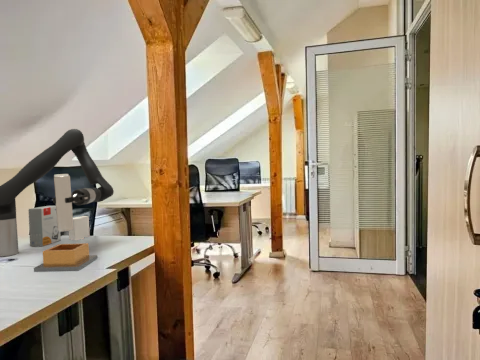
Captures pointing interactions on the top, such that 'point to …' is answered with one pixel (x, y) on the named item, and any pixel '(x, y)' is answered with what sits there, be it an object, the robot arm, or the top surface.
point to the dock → (66, 258)
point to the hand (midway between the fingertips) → (60, 200)
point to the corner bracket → (80, 228)
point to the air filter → (63, 202)
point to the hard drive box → (43, 226)
